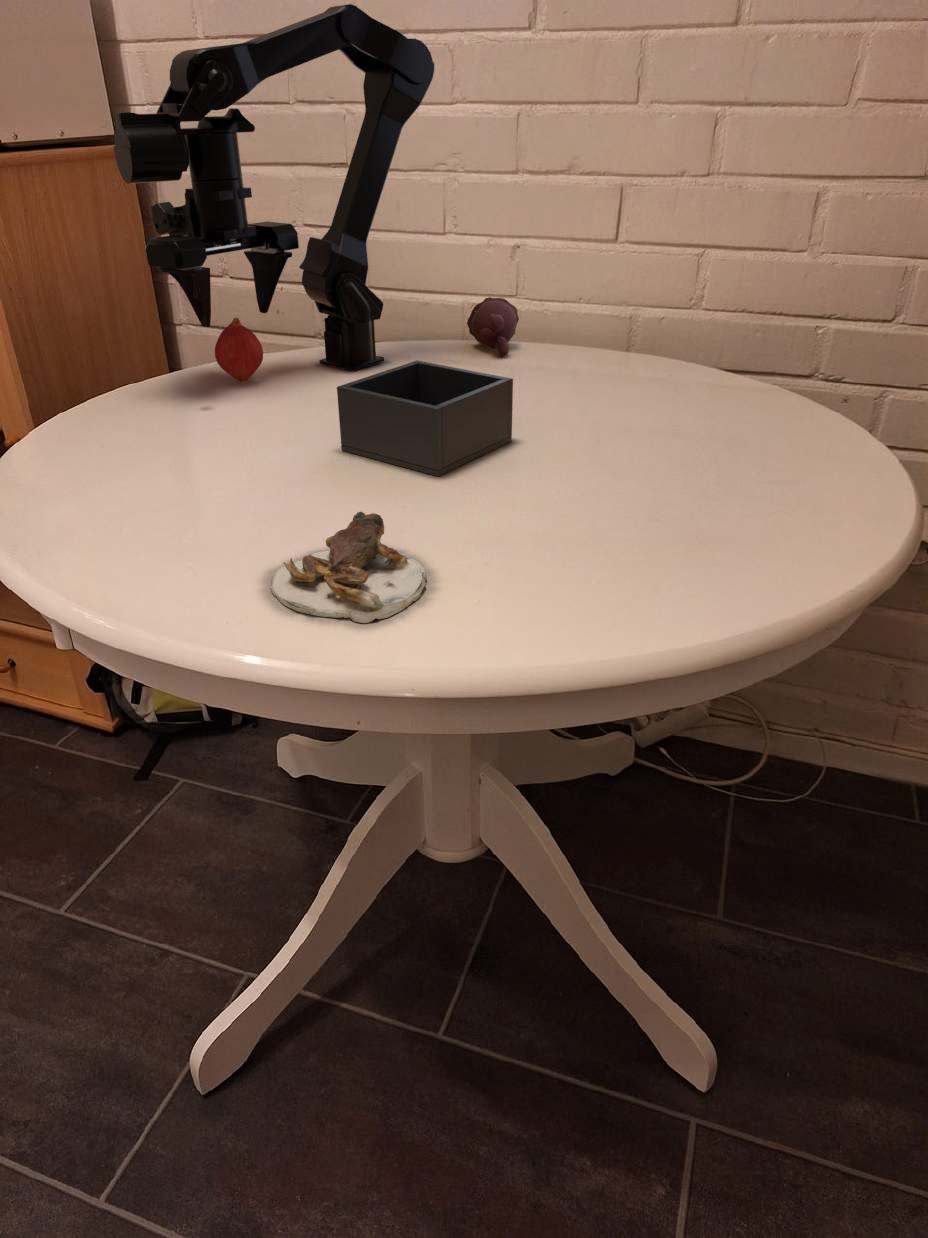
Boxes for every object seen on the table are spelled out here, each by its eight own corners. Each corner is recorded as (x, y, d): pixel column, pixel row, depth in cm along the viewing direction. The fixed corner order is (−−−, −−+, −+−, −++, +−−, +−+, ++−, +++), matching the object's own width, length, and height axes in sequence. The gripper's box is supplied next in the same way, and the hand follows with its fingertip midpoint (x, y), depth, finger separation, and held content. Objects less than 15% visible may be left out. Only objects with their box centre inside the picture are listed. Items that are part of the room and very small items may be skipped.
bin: (418, 419, 102) (416, 359, 98) (511, 441, 95) (513, 378, 92) (341, 450, 93) (336, 386, 90) (438, 476, 87) (436, 408, 83)
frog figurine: (311, 539, 75) (306, 495, 73) (449, 558, 71) (448, 513, 69) (239, 604, 65) (232, 556, 63) (395, 629, 62) (392, 580, 60)
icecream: (457, 290, 134) (467, 322, 122) (506, 276, 133) (521, 306, 121) (469, 335, 138) (480, 370, 126) (516, 322, 137) (531, 355, 125)
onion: (210, 385, 114) (200, 320, 110) (236, 374, 118) (228, 310, 114) (249, 390, 112) (241, 323, 108) (274, 378, 117) (267, 314, 113)
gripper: (232, 170, 114) (248, 299, 122) (103, 181, 101) (130, 325, 109) (295, 173, 108) (307, 308, 116) (166, 186, 95) (190, 337, 103)
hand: (235, 319), depth 111 cm, fingers open, 9 cm apart
